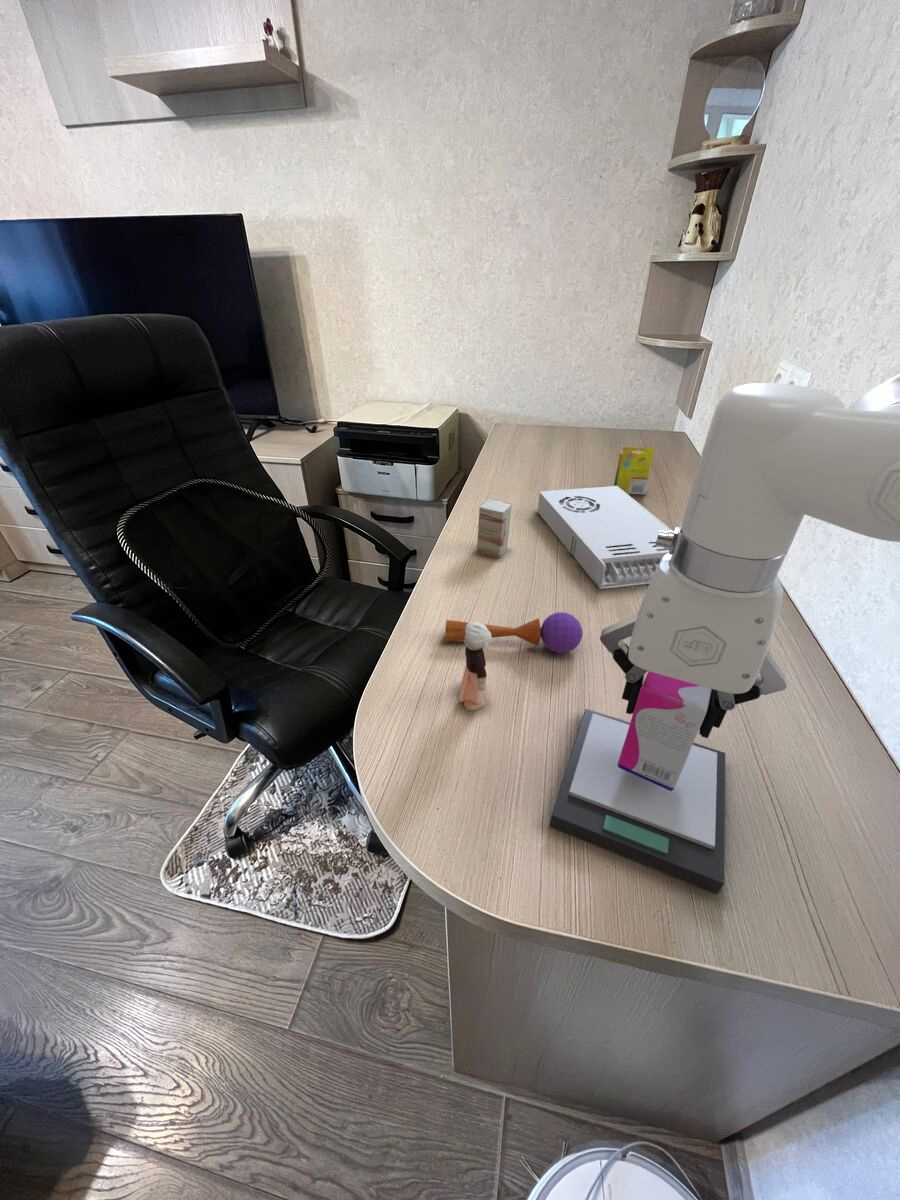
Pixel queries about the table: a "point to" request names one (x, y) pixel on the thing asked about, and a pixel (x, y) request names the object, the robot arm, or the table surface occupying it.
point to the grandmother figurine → (474, 665)
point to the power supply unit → (605, 533)
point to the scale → (645, 806)
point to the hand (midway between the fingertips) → (667, 714)
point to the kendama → (531, 632)
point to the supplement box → (663, 729)
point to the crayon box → (633, 470)
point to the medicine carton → (493, 528)
